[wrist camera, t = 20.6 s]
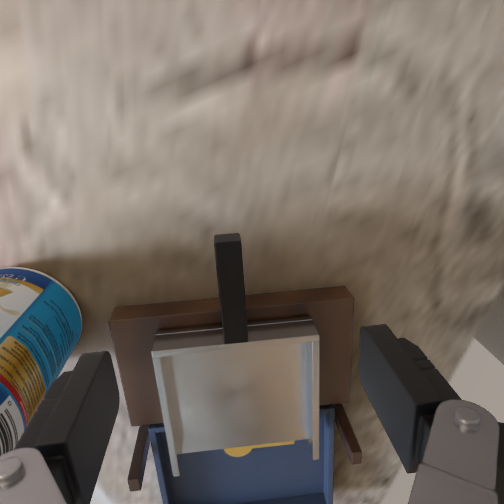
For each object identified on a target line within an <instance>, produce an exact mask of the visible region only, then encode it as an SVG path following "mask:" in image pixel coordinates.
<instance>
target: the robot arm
mask: <svg viewBox="0 0 504 504" xmlns="http://www.w3.org/2000/svg"><path fill="white" fill-rule="evenodd" d="M358 369H359V376H360V380H361V383H362V386H363V388H364V390H365V392H366V394H367V396H368V398H369V400H370V402H371V404H372V406H373V407H374V409H375V411H376V413H377V415H378V417H379V419H380V421H381V423H382V425H383V427H384V429H385V431H386V433H387V435H388V437H389V439H390V441H391V442H392V444H393V446H394V448H395V450H396V452H397V454H398V456H399V458H400V460H401V462H402V464H403V466H404V468H405V470H406V472H407V473H415V472H417V473H416V476H415V480H414V484H413V487H412V491H411V494H410V498H409V502H408V504H504V423H500V422H497V420H496V419H495V417H494V416H493V415H492V414H491V413H489V412H488V411H487V410H486V409H484V408H482V407H481V406H479V405H477V404H475V403H472V402H468V401H465V400H462V399H461V398H460V397H459V396H458V395H457V393H456V392H455V391H454V390H453V388H452V387H451V386H450V385H449V384H448V382H447V381H446V380H445V379H444V378H443V376H442V375H441V374H440V373H439V371H438V370H437V369H435V367H434V365H433V364H432V363H431V362H430V360H428V359H427V357H426V356H425V354H424V353H423V352H422V351H421V349H420V348H419V347H418V346H416V345H415V344H413V343H411V342H410V341H408V340H407V339H405V338H399V339H397V338H396V337H395V335H394V334H393V333H392V331H391V330H390V329H389V327H388V326H387V325H386V324H381V325H371V326H362V327H361V330H360V342H359V363H358ZM118 409H119V390H118V385H117V381H116V376H115V372H114V368H113V363H112V359H111V355H110V353H109V352H108V351H103V352H93V353H83V354H82V355H81V356H80V358H79V360H78V362H77V364H76V366H75V368H74V370H73V371H68V372H64V373H63V374H62V375H61V376H60V377H59V378H57V379H56V380H55V381H54V382H53V383H52V384H51V385H50V387H49V389H48V391H47V392H46V394H45V396H44V400H42V401H41V403H40V405H39V406H38V410H37V411H36V412H35V413H34V415H33V417H32V419H31V420H30V422H29V424H28V426H27V427H26V429H25V431H24V433H23V434H22V436H21V438H20V440H19V441H18V443H17V445H16V447H15V448H14V450H12V451H9V452H7V453H5V454H3V455H1V456H0V504H90V501H91V498H92V494H93V491H94V488H95V485H96V482H97V478H98V475H99V472H100V469H101V465H102V462H103V459H104V456H105V452H106V449H107V446H108V443H109V439H110V436H111V433H112V430H113V427H114V423H115V420H116V417H117V414H118Z"/></svg>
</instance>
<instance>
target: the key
mask: <svg viewBox="0 0 504 504" xmlns="http://www.w3.org/2000/svg"><path fill="white" fill-rule="evenodd" d="M294 443H295V442H294V441H287V442H278V443H270V444H261V445H252V446H244V447H235V448H227V449H224V451H225V452H226V453H227V454H228V455H230V456H233V457H241V456H244V455H246V454H248V453H249V452H250V451H251V450H252V448H261V447H270V446H280V445H289V444H294Z"/></svg>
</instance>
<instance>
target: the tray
mask: <svg viewBox="0 0 504 504" xmlns="http://www.w3.org/2000/svg"><path fill="white" fill-rule="evenodd" d="M334 421H335V408H334V405H333V404H329V405H320V406H319V459H317V460H313V458H312V455H311V451H310V447H309V444H308V440H307V439H304V440H296V441H294V442H295V443H294V444H289V445H280V446H270V447H261V448H252V450H251V451H250V452H249V453H248V454H246V455H244V456H241V457H233V456H230V455H228V454H227V453H226V452H225V451H224V449H218V450H209V451H201V452H192V453H183V454H182V458H181V469H180V476H175V477H174V476H173V472H172V466H171V461H170V455H169V450H168V444H167V438H166V433H165V427H164V423H158V424H149V427H148V431H149V436H150V441H151V446H152V451H153V456H154V461H155V466H156V471H157V476H158V481H159V486H160V491H161V496H162V501H163V504H333V467H334Z"/></svg>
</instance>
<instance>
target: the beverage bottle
mask: <svg viewBox="0 0 504 504" xmlns="http://www.w3.org/2000/svg"><path fill="white" fill-rule="evenodd" d="M81 332H82V316H81V311H80V308H79V306H78V304H77V302H76V300H75V298H74V297H73V295H72V294H71V293H70V292H69V290H68V289H67V288H66V287H65V286H64V285H62V284H61V283H60V282H59V281H57V280H56V279H54V278H53V277H51V276H49V275H47V274H45V273H42V272H40V271H37V270H33V269H29V268H22V267H7V268H0V456H1V455H3V454H5V453H7V452H9V451H12V450H14V448H15V447H16V445H17V443H18V441H19V440H20V438H21V436H22V434H23V433H24V431H25V429H26V427H27V426H28V424H29V422H30V420H31V419H32V417H33V415H34V413H35V412H36V411H37V410H38V406H39V405H40V403H41V401H42V400H44V396H45V394H46V392H47V391H48V389H49V387H50V385H51V384H52V383H53V382H54V381H55V380H56V379H57V377H58V376H59V374H60V372H61V370H62V368H63V367H64V365H65V363H66V361H67V360H68V358H69V356H70V355H71V353H72V352H73V350H74V348H75V347H76V345H77V343H78V341H79V339H80V336H81Z"/></svg>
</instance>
